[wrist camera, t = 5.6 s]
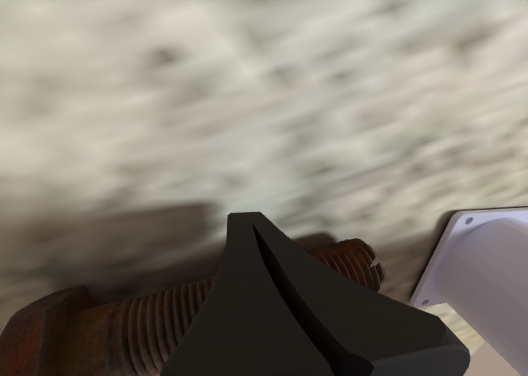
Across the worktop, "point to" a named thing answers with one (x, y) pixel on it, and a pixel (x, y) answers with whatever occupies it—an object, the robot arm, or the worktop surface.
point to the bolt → (131, 324)
